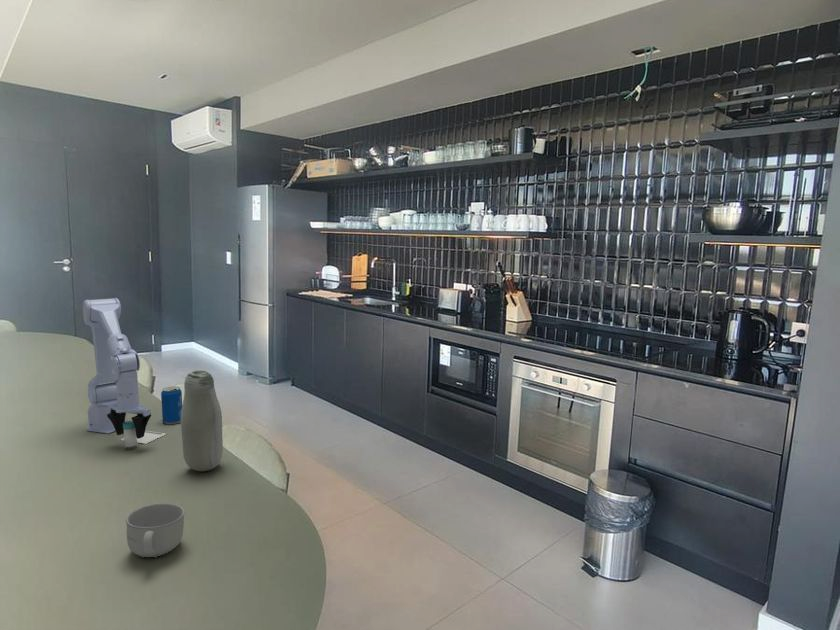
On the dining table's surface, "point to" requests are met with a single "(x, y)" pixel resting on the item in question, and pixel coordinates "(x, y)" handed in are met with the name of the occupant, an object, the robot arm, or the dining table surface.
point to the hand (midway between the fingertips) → (130, 435)
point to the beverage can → (171, 404)
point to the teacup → (155, 529)
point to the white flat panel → (149, 437)
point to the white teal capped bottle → (130, 435)
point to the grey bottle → (201, 422)
